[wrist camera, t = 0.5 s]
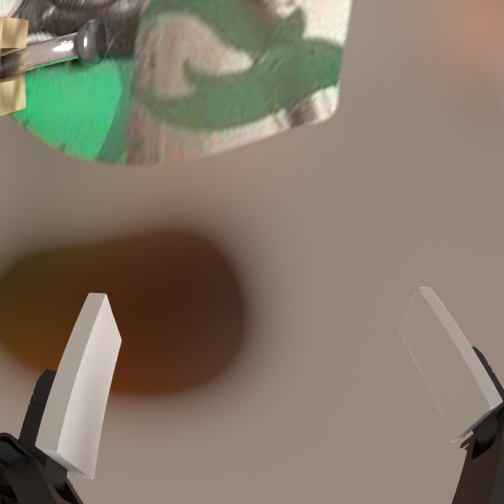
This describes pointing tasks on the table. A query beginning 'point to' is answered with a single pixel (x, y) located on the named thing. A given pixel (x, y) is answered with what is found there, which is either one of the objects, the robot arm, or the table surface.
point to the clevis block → (13, 88)
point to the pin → (59, 50)
